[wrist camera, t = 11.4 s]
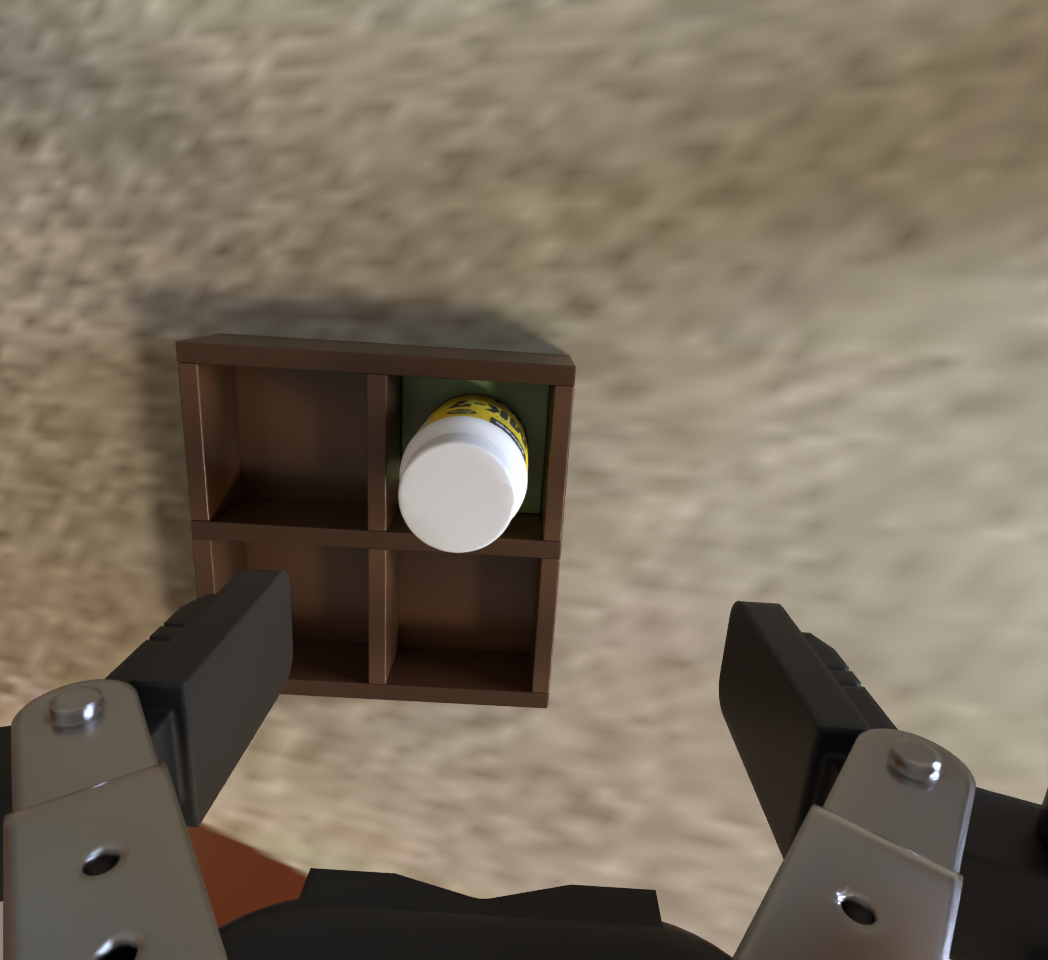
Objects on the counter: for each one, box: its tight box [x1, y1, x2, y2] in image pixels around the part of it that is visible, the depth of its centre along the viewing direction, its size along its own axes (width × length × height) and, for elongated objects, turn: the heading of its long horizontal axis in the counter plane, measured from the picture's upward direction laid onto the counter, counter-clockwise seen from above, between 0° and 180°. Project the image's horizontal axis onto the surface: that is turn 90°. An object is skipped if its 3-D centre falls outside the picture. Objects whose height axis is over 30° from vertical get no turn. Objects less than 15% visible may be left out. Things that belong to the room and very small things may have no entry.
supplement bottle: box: [398, 392, 529, 553], centre depth 27 cm, size 5×5×8 cm
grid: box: [176, 334, 576, 708], centre depth 30 cm, size 16×16×4 cm
